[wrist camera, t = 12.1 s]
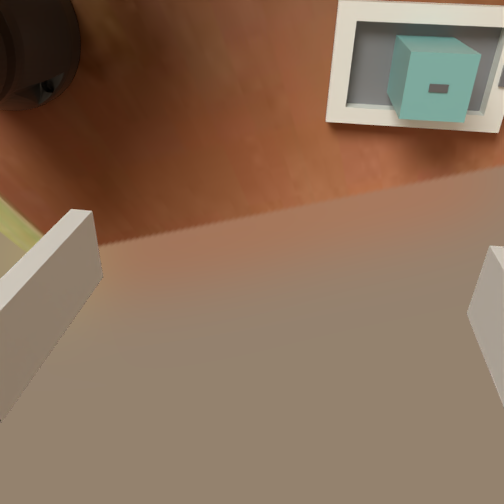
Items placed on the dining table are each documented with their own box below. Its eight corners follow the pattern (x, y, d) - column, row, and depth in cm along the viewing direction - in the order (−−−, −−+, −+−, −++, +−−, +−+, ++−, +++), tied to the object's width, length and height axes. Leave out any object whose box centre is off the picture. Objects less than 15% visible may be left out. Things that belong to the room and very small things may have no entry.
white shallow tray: (325, 116, 48) (325, 122, 46) (338, -1, 42) (339, 0, 41) (492, 127, 46) (499, 134, 45) (528, 6, 41) (537, 8, 39)
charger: (386, 92, 46) (398, 119, 38) (396, 34, 43) (411, 51, 35) (440, 94, 45) (464, 123, 38) (453, 37, 43) (481, 54, 35)
